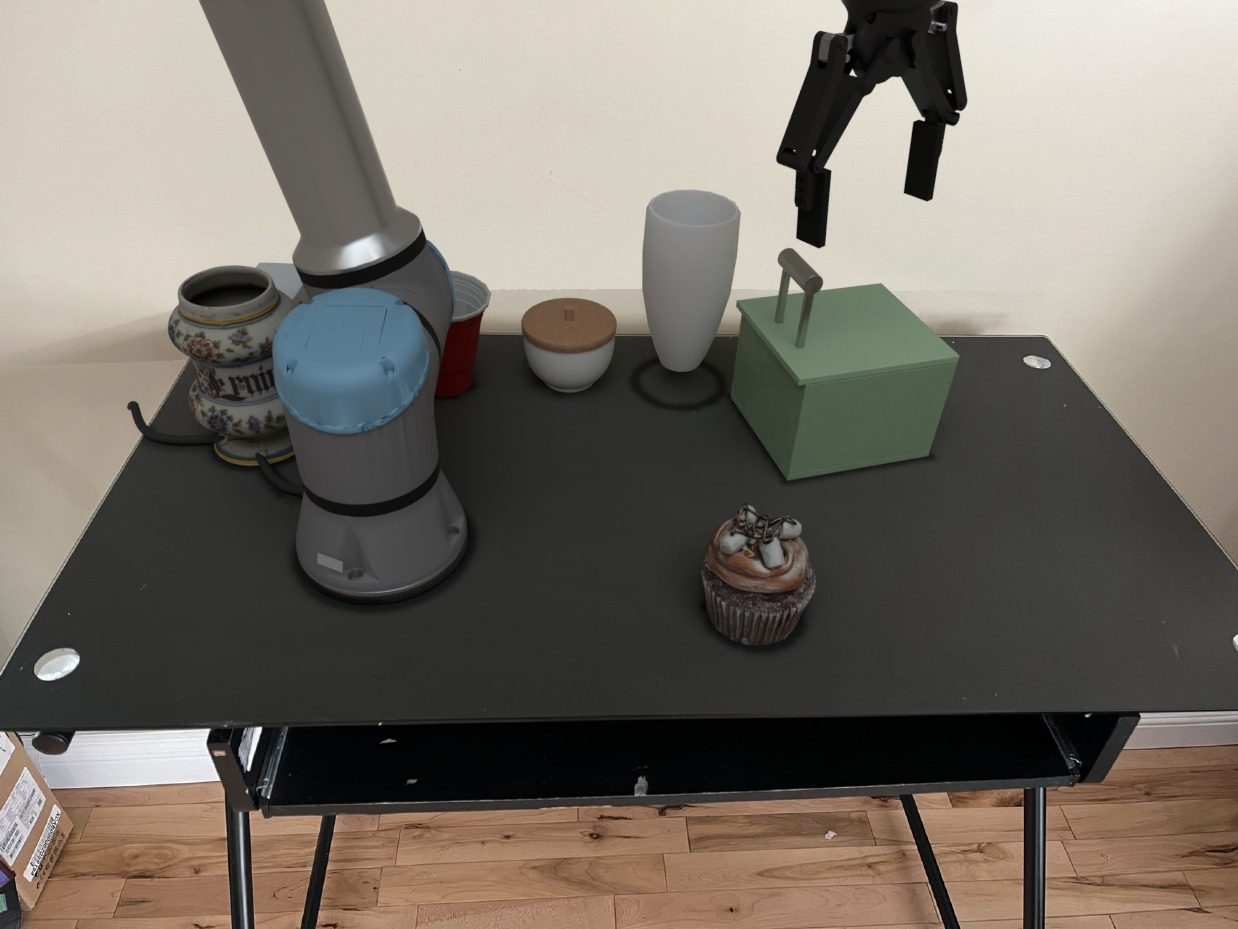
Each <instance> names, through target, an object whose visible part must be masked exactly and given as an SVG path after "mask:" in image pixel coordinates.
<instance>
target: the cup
mask: <svg viewBox="0 0 1238 929" xmlns="http://www.w3.org/2000/svg"><path fill="white" fill-rule="evenodd" d="M741 214H742V212H741V210H740V209H739V207H738V205H737V204H736V202H735V201H733V200H731V199H730V198H728V197H726V196H725V195H722V194H718V193H715V192H713V191H707V190H700V189H699V190H698V189H675V190H670V191H664V192H662V193H659V194H658V195H656V196H654V197H652V198H651V199H650V201H648V204H647V206H646V210H645V221H644V229H643V240H642V254H641V255H642V256H641V258H642V260H641V261H642V262H641V264H642V265H641V285H642V286H641V291H642V297H643V303H644V308H645V315H646V321H647V327H648V329H649V332H650V337H651V340H652V343H653V347H654V349H655V352H656V355H657V357H658V360H659V362H660V364H661V365H662V367H664V368H665V369H668V370H670V371H673V372H678V373H683V372H685V373H686V372H690V371H693V370H695V369H697V368H698V367H699V366H700V365H701V363H702V362H703V360H704V358H705V357H706V355H707V354H708V352H709V350H710V348H711V346H712V344H713V341H714V340H715V338H716V336H717V334H718V332H719V331H718V330H719V328H720V325H721V322H722V320H723V316H724V313H725V311H726V308H727V305H728V302H729V299H730V296H731V292H732V287H733V281H734V274H735V270H736V264H737V259H738V250H739V249H738V248H739V240H740V239H739V237H740V227H741V226H740V225H741V217H742V215H741Z"/></svg>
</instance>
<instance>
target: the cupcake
mask: <svg viewBox="0 0 1238 929" xmlns="http://www.w3.org/2000/svg"><path fill="white" fill-rule="evenodd" d="M736 512H737V513H736V517H733V518H729V519H726V520H725V521H723V522H721V523H720V524H719V525H717V527H715V529H714V530H713V531H712V532H711V534H710V537H709V539H708V541H707V545H706V548H705V550H704V552H703V557H702V565H701V566H702V567H701V571H700V574H701V577H702V584H703V590H704V598H705V606H706V611H707V614H708V618H709V621H710V623H711V624H712V625H713V626H714V627H715V629H716V630H717V631H718V632H719V633H720V634H722V635H723V636H725V637H726V638H728V639H730V640H731V641H733V642H737V643H740V644H742V645H745V646H749V647H765V646H766V647H767V646H771V645H774V644H778V643H780V642H781V641H783V640H786V638H787V637H788V636H789V635H790V634H791V633H792V632H793V631H794V629H795V627H796V626H797V623H798V622H799V620H800V617H801V615H802V614H803V612H804V610H805V608H806V607H807V605H808V604H809V602H810V601H811V598H812V596H813V595H814V593H815V590H816V586H817V585H816V582H817V579H816V576H817V575H816V574H815V573H814V572H815V569H814V568H813V566H812V565H813V563H811V562H810V558H809V556H810V555H809V550H808V547H807V545H806V544H805V542H804V541H803V539H802V538H801V537H800V535H801V533H802V526H803V525H802V524H801V523H800V522H799V520H797V519H794V518H792V516H791V515H786V516H777V517H774V518H772V515H770V514H769V513H761V514H759V513H757V512H756V509H755V508H754V506H752V505H749V503H748V502H746V503H743V504H742V505H740V507H739V509H738V510H737V511H736Z"/></svg>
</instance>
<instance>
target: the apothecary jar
mask: <svg viewBox="0 0 1238 929" xmlns="http://www.w3.org/2000/svg"><path fill="white" fill-rule="evenodd" d="M177 299H178V304H177V305H176V306H175V307H174V309H172V312H171V314H170V315H169V319H168V323H167V332H168V333H167V334H168V337H169V339H170V341H171V343H172V344H173V345H174V347H175V348H176V349H177V350H178V351H180V352H181V353H182V354H183V355H185V356H187V357H189V358H190V361H191V363H192V367H193V371H194V376H195V379H194V381H193V382H192V384H191V386H190V389H189V392H188V407H189V410H190V412H191V414H192V416H193V417H194V419H195V420H196V422H198V423H199V424H200V425H201V426H202V427H204V428H206V429H207V430H208V431H211V432H214V433H216V435H222V436H225V439H224V440H222V441H218V442H216V443H214V444H213V447H214V452H215V453H216V454H217V455H218V456H219V458H221V459H222V460H224V461H226V462H228V463H230V464H233V465H237V466H242V467H243V466H244V467H260V466H259V465H258V463H257V460H256V456H255V454H256V453H259V454H261V455H263V456H264V457H265V458H266V459H267V461H268V462H269V464H270V465H273V464H278V463H280V462H283V461H286V460H288V459H290V458H291V457H293V456H295V453H294V449H293V445H292V441H291V437H290V433H289V429H288V425H287V421H286V417H285V413H284V410H283V406H282V402H281V398H280V396H279V395H278V391H277V388H276V386H275V375H274V372H273V365H274V361H273V353H272V349H273V341H274V337H275V334H276V331H277V329H278V327H279V325H280V324H281V322H282V321H283V319H284V318H285V317H286V316H287V315H288V314H289V313H290V312H291V311H292V310H293V309H294V308H296V305H295V303H294V302H293V301H292V300H291V298H290V297H289V296H287V295H286V294H285V293H283V292H282V291H280V290H278V289H276V287H275V284H274V281H273V279H272V278H271V276H270V275H269V274H268V273H266V272H265V271H263V270H260V269H258V268H256V267H254V266H248V265H247V266H246V265H235V264H233V265H220V266H214V267H210V268H207V269H203V270H201V271H198V272H196V273H194V274H192V275H191V276H189V277H187V278H186V279H185V280H183V281H182V283H181V284H180V285H179V287H178V289H177Z"/></svg>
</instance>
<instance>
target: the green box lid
mask: <svg viewBox="0 0 1238 929" xmlns="http://www.w3.org/2000/svg"><path fill="white" fill-rule="evenodd" d="M777 263H778V265H779V266H780V267H781V268H782V269H781V270H782V271H781V275H780V282H779V289H778V295H777V294H776V295H769V296H761V297H760V296H759V297H753V298H743V299H736V302H735V303H736V304H735V307H736V309H737V310H738V312H740V314H741V315H743V316H744V317H745V319H746V320H747V321H748V322H749V324H750V325H751V326H752V327H753V329H754V330H755V331H756V333H757V334H758V335H759V336H760V338H761V339H762V340H763V341H764V343H765V344H766V345H767V346H768V348H769V349H770V350H771V352H772V353H773V354H774V355H775V357H776V358H777V359H778V360H779V362H780V363H781V364H782V365H783V367H784V368H785V369H786V371H787V372H788V373H789V374H790V376H791V377H792V378H793V379H794V381H795V382H796V383H797V384H798V385H799V386H800V385H807V384H814V383H821V382H828V381H834V380H841V379H848V378H855V377H862V376H869V375H875V374H882V373H889V372H896V371H903V370H909V369H916V368H923V367H930V366H937V365H944V364H950V363H957V364H958V363H959V360H960V356H961V355H960V354H958V353H957V351H955V350H954V349H953V347H952V346H950V345H948V343H947V342H946V341H945V340H944V339H942V338H941V337H940V336H939V335H938V334H937V333H936V332H935V331H934V330H933V329H932V328H931V327H930V326H928V325H927V324H926V323H925V322H924V321H923V320H922V319H921V318H920V317H919V316H918V315H916V313H914V311H912V310H911V309H910V308H909V307H908V306H907V305H906V304H904V303H903V301H902V300H900V299H899V298H898V297H897V296H896V295H895V294H894V293H893V292H891V290H890V289H888V288H887V287H886V286H885V285H884V284H883V283H882V282H879V283H869V284H863V285H861V284H860V285H854V286H852V285H851V286H845V287H837V288H829V289H822V288H823V285H824V279H823V277H822V276H821V275H820V274H819V273H818V272H817V271H816V270H815V269H814V268H813V267H812V266H811V265H810V264H809V263H808V262H807V261H806V260H805V259H804V258H803V257H802V256H801V255H800V254H799V253H798V251H796V250H795V249H794V248H793V247H786V248H784V249H782V250H781V251H780V252H779V253H778V256H777ZM791 279H792V281H794V282H795V284H797V286H799V288H800V289H801V290H802V291H803V292H795V293H789V288H790V282H791Z"/></svg>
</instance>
